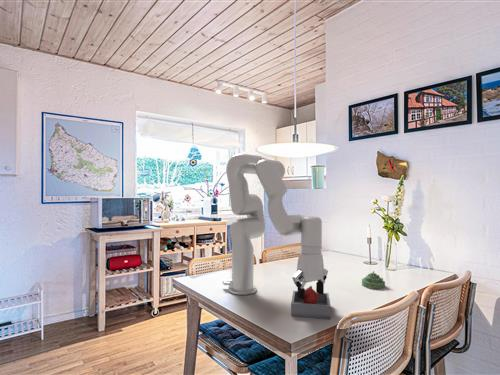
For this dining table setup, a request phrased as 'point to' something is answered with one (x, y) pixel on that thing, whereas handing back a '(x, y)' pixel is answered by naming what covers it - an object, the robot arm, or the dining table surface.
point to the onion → (310, 296)
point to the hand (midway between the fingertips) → (310, 295)
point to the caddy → (311, 307)
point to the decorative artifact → (373, 281)
